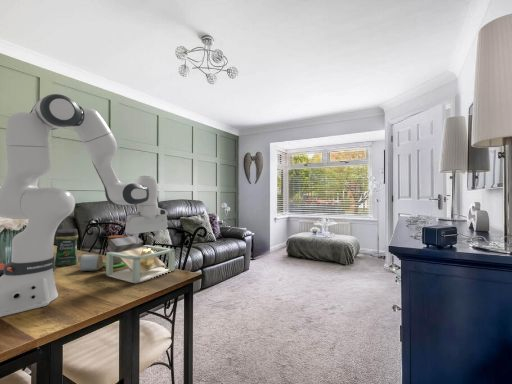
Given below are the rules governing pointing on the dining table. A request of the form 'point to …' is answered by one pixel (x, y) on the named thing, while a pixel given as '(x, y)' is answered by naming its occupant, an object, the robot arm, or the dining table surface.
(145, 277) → the frame
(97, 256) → the ceramic mug
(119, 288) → the dining table surface
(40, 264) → the robot arm
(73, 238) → the coffee jar
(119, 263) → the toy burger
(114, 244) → the trapdoor plate
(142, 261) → the block
